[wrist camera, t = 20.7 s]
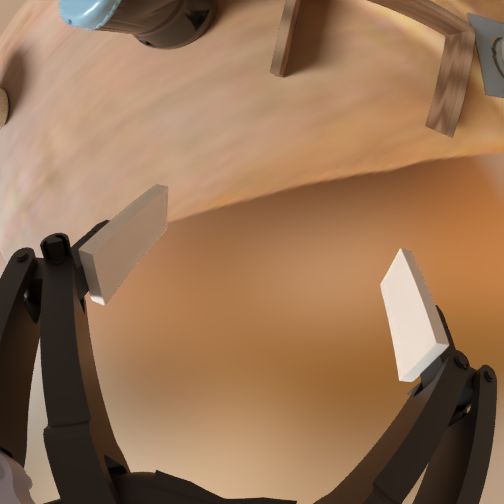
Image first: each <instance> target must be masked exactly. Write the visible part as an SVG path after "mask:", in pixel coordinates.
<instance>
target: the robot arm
mask: <svg viewBox="0 0 504 504" xmlns="http://www.w3.org/2000/svg"><path fill="white" fill-rule="evenodd" d="M217 6H218V2H217V0H59V11H60V15H61V17H62V19H63V20H64V22H65V23H67V24H68V25H70V26H72V27H78V28H84V29H87V30H101V31H112V32H121V33H129V34H132V35H133V36H134V37H135V38H136V39H138V40H139V41H140V42H141V43H143V44H144V45H146V46H149V47H152V48H158V49H175V48H179V47H182V46H185V45H187V44H189V43H191V42H193V41H194V40H196V39H197V38H199V37H200V36H201V35H202V34H203V33H204V32H205V31H206V30H207V29H208V28H209V26H210V25H211V23H212V22H213V20H214V18H215V15H216V12H217ZM167 205H168V186H163V185H158V184H156V185H154V186H153V187H152V188H150V189H149V190H148V191H146V192H145V193H144V194H143V195H141V196H140V197H139V198H137V199H136V200H135V201H134V202H132V203H131V204H130V205H129V206H127V207H126V208H125V209H124V210H123V211H121V212H120V213H119V214H118V215H117V216H115V217H114V218H113V219H112V220H111V221H109V220H105V221H103V222H101V223H99V224H97V225H96V226H95V227H94V228H92V229H91V231H89V232H88V233H87V234H86V235H85V236H83V237H82V238H81V239H80V240H79V241H78V242H76V243H75V244H74V245H73V246H72V247H70V243H69V238H68V236H67V235H66V234H63V233H55V234H52V235H49V236H48V237H46V238H45V239H44V240H43V241H42V242H41V244H40V247H41V250H42V254H43V257H44V258H36V256H35V253H34V250H33V249H32V248H28V247H27V248H22V249H19V250H18V251H16V252H15V253H14V254H13V255H12V257H11V259H10V260H9V262H8V264H7V266H6V268H5V270H4V272H3V274H2V276H1V278H0V504H35V503H34V502H33V500H32V498H31V496H30V492H29V489H31V487H32V481H31V479H30V477H29V476H28V475H27V474H26V472H25V470H24V465H25V458H26V449H27V424H28V409H29V398H30V390H31V382H32V375H33V369H34V363H35V358H36V353H37V348H38V343H39V339H40V348H41V367H42V379H43V390H44V398H45V405H46V412H47V417H48V426H47V427H46V428H45V429H44V433H43V435H44V443H45V448H46V452H47V456H48V460H49V463H50V467H51V471H52V474H53V477H54V480H55V483H56V487H57V489H58V492H59V495H60V499H57V500H54V501H51V502H48V503H44V504H296V503H297V501H292V500H280V499H271V498H264V497H262V498H245V499H225V498H222V497H219V496H217V495H215V494H213V493H211V492H209V491H207V490H205V489H203V488H201V487H199V486H198V485H195V484H194V483H192V482H190V481H187V480H184V479H181V478H178V477H174V476H172V475H169V474H165V473H163V472H160V471H158V470H156V472H155V473H152V472H133V473H131V472H130V470H129V467H128V465H127V462H126V460H125V458H124V455H123V454H122V452H121V450H120V448H119V446H118V444H117V443H116V440H115V437H114V434H113V431H112V428H111V425H110V422H109V418H108V415H107V412H106V408H105V404H104V401H103V397H102V393H101V389H100V385H99V380H98V376H97V372H96V367H95V362H94V356H93V351H92V345H91V339H90V333H89V325H88V317H87V308H86V300H85V297H84V296H85V295H86V293H87V292H88V291H89V293H90V296H91V299H92V300H93V301H95V302H97V303H100V304H102V305H104V306H105V305H106V304H107V303H108V301H109V300H110V298H111V297H112V296H113V295H114V293H115V292H116V291H117V289H118V288H119V287H120V285H121V284H122V283H123V282H124V280H125V279H126V278H127V277H128V275H129V274H130V273H131V272H132V270H133V269H134V268H135V266H136V265H137V264H138V263H139V262H140V260H141V259H142V258H143V257H144V256H145V254H146V253H147V252H148V251H149V249H150V248H151V247H152V246H153V245H154V244H155V243H156V241H157V240H158V239H159V238H160V237H161V235H162V234H163V233H164V232H165V231H166V230H167ZM380 286H381V290H382V294H383V298H384V303H385V307H386V311H387V316H388V320H389V324H390V329H391V334H392V340H393V345H394V351H395V356H396V362H397V369H398V375H399V381H407V382H412V381H414V380H415V379H416V378H417V377H418V376H419V375H420V376H421V382H420V383H419V384H418V385H417V386H415V387H414V388H413V389H412V390H411V391H410V392H408V395H409V394H410V393H412V394H411V396H410V397H409V399H408V400H407V402H406V403H405V405H404V406H403V408H402V409H401V411H400V412H399V414H398V415H397V416H396V418H395V420H394V421H393V422H392V423H391V425H390V426H389V427H388V429H387V430H386V431H385V433H384V434H383V435H382V437H381V438H380V439H379V440H378V442H377V443H376V444H375V445H374V447H373V448H372V449H371V450H370V452H369V453H368V454H367V455H366V456H365V457H364V459H363V460H362V461H361V462H360V463H359V464H358V465H357V466H356V467H355V469H354V470H353V471H352V472H351V473H350V474H349V475H348V476H347V477H346V478H345V479H344V480H343V481H342V482H341V483H340V484H339V485H338V486H337V487H336V488H335V489H334V490H333V491H332V492H330V493H329V494H328V495H326V496H324V497H323V498H321V499H319V500H318V501H316V502H315V503H314V504H402V502H403V501H404V499H405V498H406V496H407V495H408V494H409V492H410V491H411V489H412V488H413V486H414V485H415V483H416V482H417V480H418V479H419V477H420V476H421V474H422V472H423V471H424V469H425V468H426V466H427V464H428V463H429V464H428V467H427V469H426V472H425V475H424V478H423V480H422V483H421V485H420V488H419V490H418V493H417V495H416V497H415V499H414V501H413V504H479V502H480V498H481V495H482V491H483V488H484V484H485V479H486V476H487V471H488V467H489V462H490V456H491V450H492V444H493V436H494V428H495V416H496V400H497V378H496V375H495V372H494V370H493V369H492V368H491V367H490V366H488V365H483V366H482V367H481V368H480V369H479V370H475V369H473V368H471V367H470V365H469V361H468V359H467V357H466V356H465V355H464V354H463V353H462V352H460V351H458V350H456V349H455V346H454V343H453V340H452V337H451V334H450V331H449V329H448V326H447V323H446V321H445V318H444V315H443V313H442V311H441V310H440V309H439V307H438V306H437V305H435V304H434V301H433V299H432V296H431V294H430V292H429V289H428V287H427V285H426V282H425V280H424V277H423V275H422V273H421V271H420V269H419V266H418V264H417V263H416V260H415V258H414V256H413V254H412V252H411V251H408V250H406V249H403V248H400V250H399V252H398V254H397V255H396V257H395V259H394V261H393V263H392V265H391V267H390V268H389V270H388V272H387V274H386V276H385V277H384V279H383V281H382V283H381V284H380ZM470 406H471V408H470V411H469V412H468V413H467V408H468V407H470Z"/></svg>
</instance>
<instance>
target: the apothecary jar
mask: <svg viewBox="0 0 504 504" xmlns="http://www.w3.org/2000/svg"><path fill="white" fill-rule="evenodd" d="M491 50H492V53H493V56H492V60H493V63H494V65H495V68H496V70H497V71H498V73H499V74H500V76H501V77H502V78H503V79H504V36H503V37H502V36H498V37H496V38H494V39H493V41H492V44H491Z"/></svg>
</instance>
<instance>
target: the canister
mask: <svg viewBox="0 0 504 504" xmlns="http://www.w3.org/2000/svg"><path fill="white" fill-rule="evenodd" d="M7 115H8V97H7V95H6V93H5V91H4V90H3V89H1V88H0V129H1V128H2V127H3V126H4V124H5V122H6V119H7Z"/></svg>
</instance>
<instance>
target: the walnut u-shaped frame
mask: <svg viewBox="0 0 504 504" xmlns="http://www.w3.org/2000/svg"><path fill="white" fill-rule="evenodd" d="M368 1H371V2H373V3H376V4H379V5H381V6H384V7H387V8H389V9H392V10H394V11H396V12H399V13H401V14H403V15H406V16H408V17H410V18H412V19H414V20H416V21H418V22H420V23H422V24H424V25H426V26H428V27H430V28H432V29H434V30H436V31H437V32H439V33H441V34H443V35H444V36H446V39H445V45H444V51H443V57H442V62H441V67H440V72H439V76H438V81H437V85H436V89H435V93H434V97H433V101H432V105H431V108H430V112H429V115H428V119H427V122H426V125H425V126H427V127H429V128H431V129H433V130H435V131H438V132H440V133H442V134H445V135H447V136H449V137H451V138H453V136H454V133H455V130H456V126H457V123H458V119H459V116H460V112H461V108H462V105H463V101H464V96H465V92H466V88H467V83H468V78H469V73H470V68H471V62H472V56H473V49H474V41H475V32H476V29H475V28H474V27H472V26H471V25H469V24H468V23H466V22H465V21H463V20H462V19H460V18H459V17H457V16H455V15H454V14H452V13H450V12H449V11H447V10H445V9H444V8H442V7H440V6H438V5H436V4H435V3H433V2H431V1H429V0H368ZM300 4H301V0H286V2H285V6H284V10H283V15H282V19H281V24H280V28H279V32H278V37H277V42H276V46H275V51H274V55H273V60H272V65H271V69H270V73H272V74H274V75H276V76H279V77H284V76H285V71H286V67H287V62H288V58H289V53H290V49H291V44H292V40H293V35H294V31H295V26H296V22H297V17H298V13H299V8H300Z"/></svg>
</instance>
